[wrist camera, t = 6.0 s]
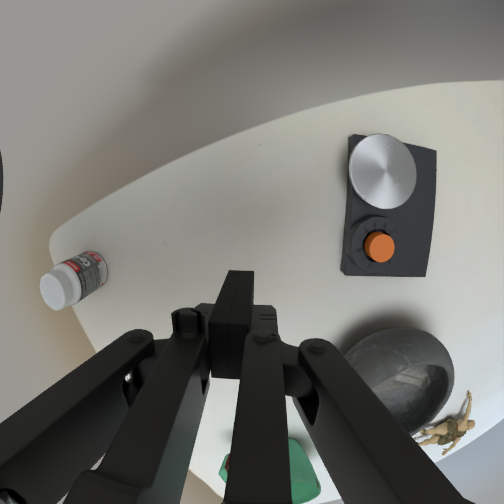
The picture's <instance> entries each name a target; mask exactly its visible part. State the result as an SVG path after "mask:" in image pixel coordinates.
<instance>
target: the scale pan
mask: <svg viewBox="0 0 504 504" xmlns="http://www.w3.org/2000/svg"><path fill="white" fill-rule="evenodd" d="M349 176H350V180H351V183H352V186H353V188H354V190H355V191H356V193H357V194H358V195H359V197H360V198H361V199H362V200H363V201H365V202H366V203H367V204H369V205H371V206H373V207H376V208H380V209H392V208H396V207H398V206H400V205H402V204H403V203H405V202H406V201H407V200H408V198H409V197H410V196H411V194H412V192H413V190H414V188H415V184H416V166H415V162H414V159H413V157H412V155H411V153H410V151H409V150H408V149H407V147H406V146H405V145H404V144H403V143H402V142H401V141H399V140H398V139H396V138H395V137H393V136H390V135H387V134H373V135H370V136H368V137H365V138H364V139H362V140H361V141H360V142H359V143H358V144H357V145H356V146H355V148H354V149H353V151H352V153H351V156H350V160H349Z"/></svg>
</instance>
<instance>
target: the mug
mask: <svg viewBox="0 0 504 504" xmlns="http://www.w3.org/2000/svg"><path fill="white" fill-rule="evenodd" d="M288 441H289V457H290V474H291V492H292V502H293V504H302V503H305V502H308V501H310V500H312V499H314V498H316V497H317V496H318V495H319V494H320V492H321V486H320V483H319V481H318V479H317V476H316V474H315V472H314V469H313V467H312V464H311V462H310V460H309V459H308V457H307V455H306V453H305V452H304V450H303V449H302V447H301V446H300V445H299V443H298V442H297V441H296V440H294V439H291V438H288ZM229 458H230V453H229V454H227V455H226V456H225V458H224V461H223V463H222V466H221V468H220V471H219V475H220V477H221V478H222V479H223V481H224V482H225V483H226V480H227V473H228V466H229Z"/></svg>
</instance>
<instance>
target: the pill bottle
mask: <svg viewBox="0 0 504 504" xmlns="http://www.w3.org/2000/svg"><path fill="white" fill-rule="evenodd" d="M106 278H107V268H106V265H105V262H104V260H103V259H102V258H101V257H100V256H99V255H98V254H97V253H95V252H91V251H89V252H85V253H82V254H80V255H78V256H75V257H73V258H71V259H68V260H66V261H64V262H61V263H59V264H57V265H56V266H54V268H53V269H52V270H51V271H49V272H48V273H46V274H44V275H43V276H42V278H41V280H40V291H41V295H42V297H43V299H44V301H45V303H46V304H47V305H48V306H49V307H50V308H51V309H53V310H57V311H58V310H61V309H63V308H65V307H67V306H68V305H74V304H76V303H78V302H79V301H80V300H82V299H83V298H85V297H86V296H88V295H89V294H91V293H92V292H94V291H95V290H97V289H98V288H100V287H101V286H103V284H104V283H105V281H106Z"/></svg>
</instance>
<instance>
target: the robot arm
mask: <svg viewBox="0 0 504 504" xmlns="http://www.w3.org/2000/svg"><path fill="white" fill-rule="evenodd" d="M253 299H254V271H237V270H229V271H228V274H227V276H226V279H225V281H224V283H223V286H222V288H221V291H220V293H219V296H218V298H217V301H216V303H215V304H207V303H201V304H199V305H197V306H196V307H195V308H181V309H178V310H175V311H174V312H172V313H171V316H172V325H173V333H172V335H171V337H170V338H169V339H160V340H154V338H153V334H152V333H151V332H149V331H147V330H142V329H134V330H131V331H128V332H126V333H125V334H123V335H122V336H120V337H119V338H118V339H116V340H115V341H113V342H112V343H111V344H109V345H108V346H106V347H105V348H104V349H102V350H101V351H99V352H98V353H97V354H95V355H94V356H93V357H91V358H90V359H88V360H87V361H85V362H84V363H83V364H81V365H80V366H79V367H77V368H76V369H74V370H73V371H72V372H70V373H69V374H67V375H66V376H65V377H63V378H62V379H61V380H59V381H58V382H56V383H55V384H54V385H52V386H51V387H50V388H48V389H47V390H45V391H44V392H43V393H41V394H40V395H39V396H37V397H36V398H35V399H34V400H32V401H30V402H29V403H28V404H26V405H25V406H24V407H22V408H21V409H20V410H18V411H17V412H15V413H14V414H13V415H11V416H10V417H9V418H7V419H6V420H5V421H3V422H2V423H1V424H0V504H57V503H58V502H59V501H60V500H61V499H62V498H63V497H64V496H65V495H66V494H67V493H68V492H69V493H68V495H67V496H66V498H65V500H64V502H63V504H180V499H181V495H182V491H183V487H184V483H185V479H186V476H187V472H188V468H189V464H190V460H191V456H192V452H193V448H194V444H195V440H196V436H197V432H198V428H199V424H200V421H201V417H202V413H203V409H204V405H205V401H206V397H207V394H208V390H209V386H210V381H209V374H210V370H211V377H212V378H224V379H240V384H239V391H238V399H237V406H236V414H235V421H234V429H233V436H232V444H231V451H230V458H229V466H228V473H227V480H226V488H225V495H224V500H223V502H222V503H221V504H293V502H292V492H291V474H290V457H289V441H288V427H287V413H286V399H285V395H287V396H291V397H292V398H293V402H294V404H295V407H296V409H297V411H298V413H299V415H300V417H301V419H302V421H303V423H304V425H305V427H306V429H307V431H308V433H309V435H310V437H311V439H312V441H313V443H314V445H315V447H316V449H317V451H318V453H319V455H320V457H321V459H322V461H323V463H324V465H325V467H326V469H327V471H328V473H329V475H330V477H331V479H332V481H333V483H334V484H335V486H336V488H337V490H338V492H339V494H340V496H341V498H342V500H343V501H344V503H345V504H475V503H473V502H471V501H469V500H467V499H465V498H463V497H462V496H461V494H460V493H459V492H458V491H457V490H456V489H455V487H454V486H453V485H452V484H451V483H450V481H449V480H448V479H447V478H446V477H445V476H444V474H443V473H442V472H441V471H440V470H439V468H438V467H437V466H436V465H435V464H434V462H433V461H432V460H431V459H430V458H429V457H428V455H427V454H426V453H425V452H424V451H423V450H422V448H421V447H420V446H419V445H418V444H417V442H416V441H415V440H414V439H413V438H412V437H411V435H410V434H409V433H408V432H407V431H406V430H405V428H404V427H403V426H402V425H401V424H400V422H399V421H398V420H397V419H396V418H395V417H394V415H393V414H392V413H391V412H390V411H389V410H388V408H387V407H386V406H385V405H384V404H383V403H382V401H381V400H380V399H379V398H378V397H377V395H376V394H375V393H374V392H373V391H372V390H371V388H370V387H369V386H368V385H367V384H366V383H365V381H364V380H363V379H362V378H361V377H360V376H359V374H358V373H357V372H356V371H355V370H354V369H353V367H352V366H351V365H350V364H349V363H348V361H347V360H346V359H345V358H344V357H343V356H342V354H341V353H340V352H339V351H338V350H337V349H336V347H335V346H334V345H333V344H332V343H330V342H329V341H326V340H324V339H319V338H314V339H307V340H304V341H303V342H301V344H300V346H299V347H296V346H292V345H288V344H286V343H284V342H283V341H281V339H280V336H279V334H278V326H277V315H276V309H275V308H274V307H273V306H272V305H253ZM127 374H130V377H131V378H130V379H129V380H128V381H126V380H125V376H126V375H127ZM105 453H106V454H105ZM104 454H105V456H104V458H103V459H102V461H101V463H100V465H99V466H98V468H97V469H96V470H90V469H91V468H92V467H93V466H94V465H95V464H96V463H97V462H98V460H99V459H100V458H101V457H102V456H103V455H104Z"/></svg>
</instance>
